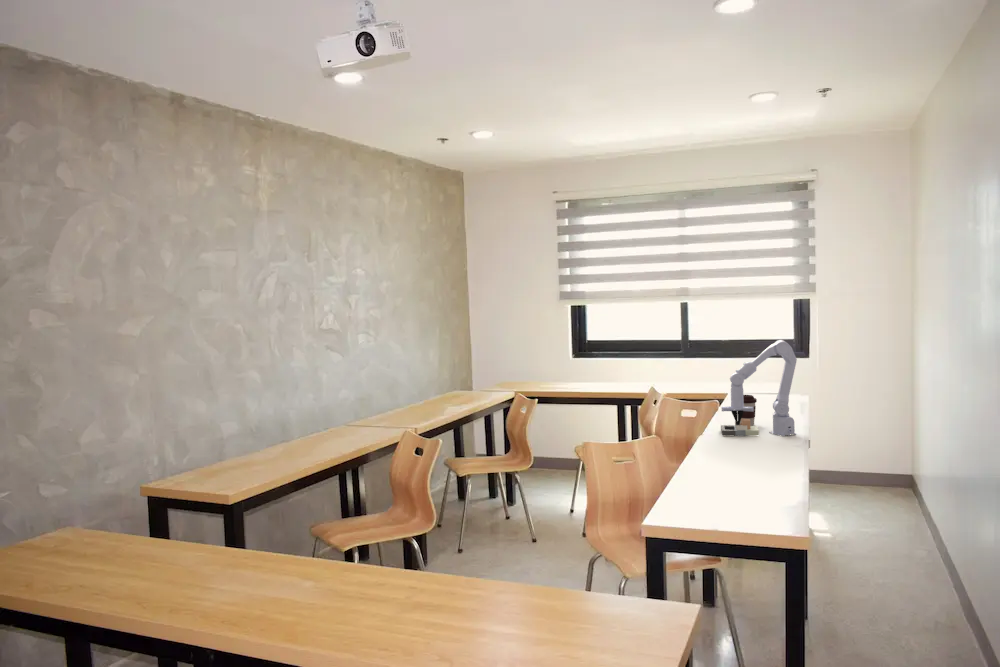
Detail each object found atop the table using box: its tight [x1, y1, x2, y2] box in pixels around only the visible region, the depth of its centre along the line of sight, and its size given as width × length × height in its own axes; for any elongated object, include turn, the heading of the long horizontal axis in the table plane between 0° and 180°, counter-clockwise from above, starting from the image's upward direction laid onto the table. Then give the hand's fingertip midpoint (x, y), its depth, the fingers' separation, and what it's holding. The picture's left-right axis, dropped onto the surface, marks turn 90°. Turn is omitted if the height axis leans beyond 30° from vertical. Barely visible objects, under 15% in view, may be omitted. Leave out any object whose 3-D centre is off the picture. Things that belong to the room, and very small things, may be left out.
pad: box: [745, 425, 760, 435], centre depth 351 cm, size 6×11×2 cm, turn 166°
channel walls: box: [734, 421, 747, 430], centre depth 352 cm, size 5×9×2 cm, turn 166°
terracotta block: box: [741, 419, 750, 429], centre depth 351 cm, size 4×5×4 cm
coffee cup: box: [737, 394, 758, 426], centre depth 370 cm, size 10×10×15 cm
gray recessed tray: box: [720, 424, 747, 437], centre depth 353 cm, size 10×13×2 cm
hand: (737, 426), depth 352 cm, fingers closed
